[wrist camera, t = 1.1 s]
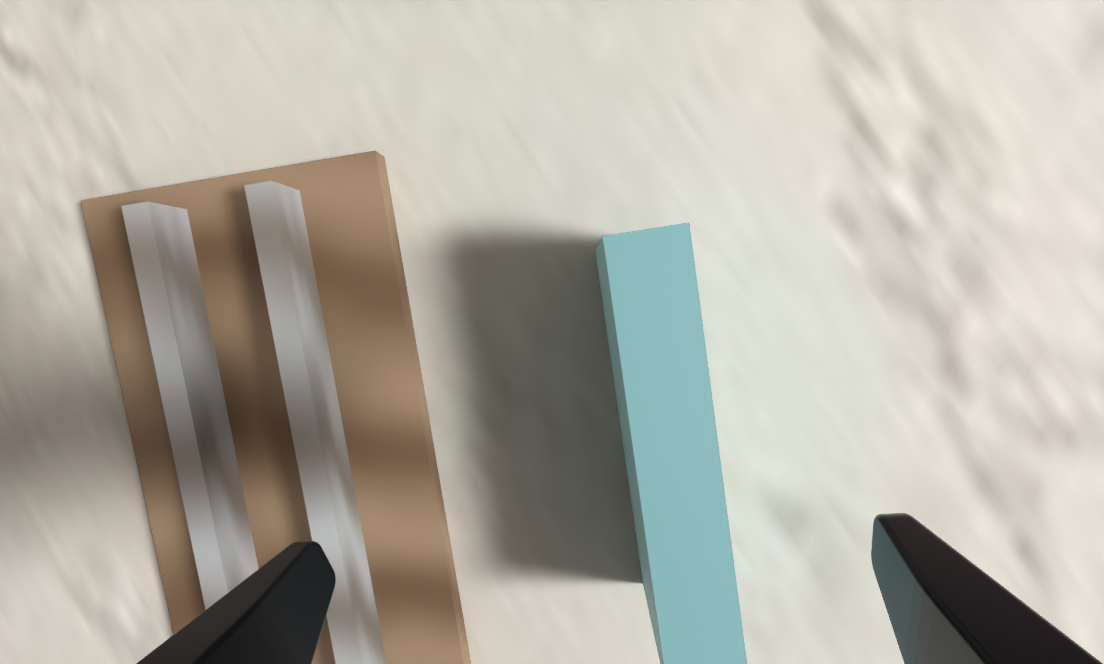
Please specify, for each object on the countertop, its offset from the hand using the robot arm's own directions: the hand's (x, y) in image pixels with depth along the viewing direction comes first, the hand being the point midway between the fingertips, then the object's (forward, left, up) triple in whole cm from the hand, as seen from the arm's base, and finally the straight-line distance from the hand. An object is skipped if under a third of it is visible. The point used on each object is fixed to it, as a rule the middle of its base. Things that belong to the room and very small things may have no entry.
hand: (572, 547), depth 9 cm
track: (-1, +12, -14) cm, 19 cm away
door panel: (-2, -3, -14) cm, 14 cm away
